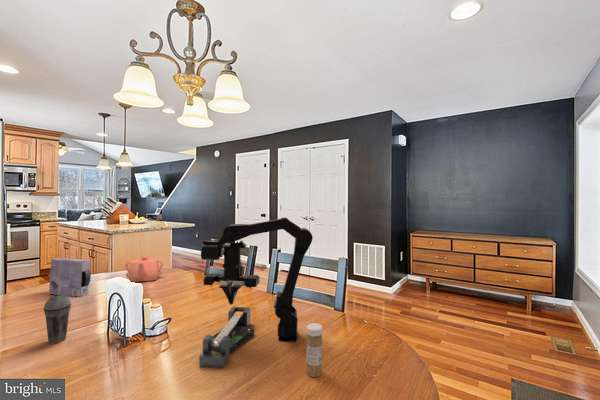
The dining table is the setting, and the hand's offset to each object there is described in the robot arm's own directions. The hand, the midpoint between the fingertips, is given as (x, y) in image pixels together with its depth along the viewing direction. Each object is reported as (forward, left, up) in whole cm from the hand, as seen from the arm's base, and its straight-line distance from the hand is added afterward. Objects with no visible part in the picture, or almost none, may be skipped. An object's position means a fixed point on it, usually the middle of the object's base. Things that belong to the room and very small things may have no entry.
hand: (231, 304), depth 101 cm
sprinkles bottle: (-30, +17, -12) cm, 37 cm away
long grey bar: (0, +2, -8) cm, 8 cm away
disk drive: (-1, +2, -13) cm, 13 cm away
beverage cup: (+58, +9, -12) cm, 60 cm away
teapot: (+73, -60, -12) cm, 95 cm away
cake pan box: (+94, -33, -12) cm, 100 cm away
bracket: (0, +3, -12) cm, 12 cm away
